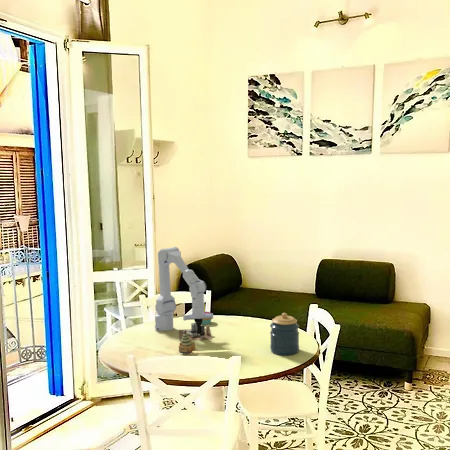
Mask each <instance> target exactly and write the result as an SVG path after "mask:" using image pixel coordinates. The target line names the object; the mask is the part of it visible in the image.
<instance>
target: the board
mask: <svg viewBox="0 0 450 450" xmlns="http://www.w3.org/2000/svg"><path fill="white" fill-rule="evenodd" d="M187 330H191V328H190V329H189V328H187V329H178V336H179V337H178V341H179V342H181V339H182V336H183V331H187ZM209 334H210V335H206V327H205V338H200V337H193V338H192V337H191V339H192V340H193V341H208V340H213V336H212V332H211V328H210V327H209Z"/></svg>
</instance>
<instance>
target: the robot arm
mask: <svg viewBox="0 0 450 450" xmlns="http://www.w3.org/2000/svg"><path fill="white" fill-rule="evenodd" d="M157 261H158V264H157V265H158V276H159V278H158V279H159V293H160V295H159V296H158V297H157V299H156V300H155V302H156V303H155V312H156V313H155V323H154V324H155V325H154V329H155V332H159V331H160V332H162V331H163V332H167V331H172V330H174V314H175V311H176V309H177V303H176V301H175V297H174V296H173V295H172V294H171V292H172V291H171V278H170V277H171V276H170V275H171V274H170V265H172V264H175V265H176V267H177V268H178V269H179V270H180V271H181V273H182V278H183V279H184V281H185V282H186V284H187V285H188V286H189V287H188V289H189V292H190V297H191V310H192V311H191V313H192V314H191V313H190V314H186V315H183V316H182V317H183V318H182V320H183V321H190V320H194V323H196V325H197V329H196V332H197V334H200V333H201V332H200V326H201V325H203V324H202V322H203V320H202V319H206V318H213V319H214V313H212V314H204V304H205V297H204V296H205V294H204V293H205V292H206V291H207V284H206V282H205V281H204V280H201V279H199V277H198V276H197V274H195V272H194V270H193V269H189V267H188V265H187V264H186V262H185V261H184V258H182V252H181V251H180V249H179V247H177V246H174V247H168V248H161V249H160V250H158V252H157Z"/></svg>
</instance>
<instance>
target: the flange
mask: <svg viewBox="0 0 450 450" xmlns="http://www.w3.org/2000/svg"><path fill="white" fill-rule="evenodd" d="M205 328H206V326H205V324H201V326H200V332H201V333H200V334H197V333H192V332H191V330H187V331H186V333H187V334H188V336H189V337H192V338H193V337H200V338H205ZM184 332H185V331H183V334H184Z"/></svg>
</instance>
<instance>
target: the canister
mask: <svg viewBox="0 0 450 450" xmlns="http://www.w3.org/2000/svg"><path fill="white" fill-rule="evenodd" d="M271 321H272V323H270V325H269V326H270V329H271V330H270V332H269V333H270V348H269V349H270V352H271V353H273V354H275V355H278V356H294V355H296V354H298V353H299V352H300V351H299V349H300V345H299V340H300V339H299V337H300V333H299V328H300V325H299V324H298V323H297V322H298V320H297V319H296V318H295V317H294V316H291V315H288V314H287V313H286V312H282V313H281V315H278V316H275V317H274V318H272V319H271Z"/></svg>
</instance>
